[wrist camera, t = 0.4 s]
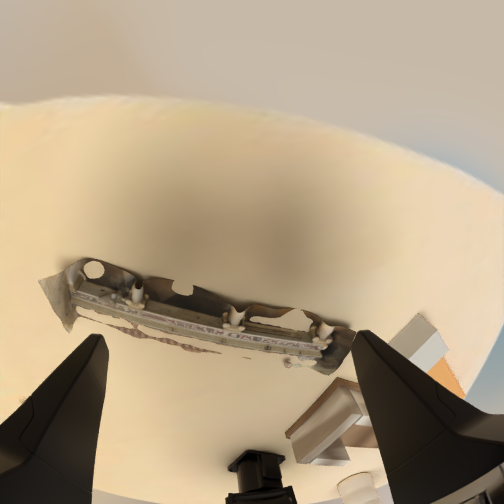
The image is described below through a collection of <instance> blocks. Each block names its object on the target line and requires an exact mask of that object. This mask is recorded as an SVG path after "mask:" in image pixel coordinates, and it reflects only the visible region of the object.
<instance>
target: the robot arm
mask: <svg viewBox="0 0 504 504" xmlns="http://www.w3.org/2000/svg"><path fill="white" fill-rule="evenodd" d="M351 353H352V357H353V361H354V366H355V370H356V374H357V379H358V383H359V387H360V390H361V393H362V396H363V399H364V402H365V405H366V408H367V411H368V414H369V418H370V421H371V424H372V427H373V430H374V434H375V437H376V440H377V443H378V447H379V450H380V454H381V457H382V461H383V464H384V468H385V471H386V474H387V479H388V483H389V486H390V490H391V494H392V498H393V501H394V504H504V414H499V415H498V414H497V415H496V414H495V415H494V414H487V413H485V412H482V411H480V410H479V409H477V408H475V407H474V406H473V405H471V404H469V403H468V402H466V401H464V400H463V399H461V398H460V397H458V396H457V395H455V394H454V393H452V392H451V391H449V390H448V389H447V388H445V387H444V386H443V385H441V384H440V383H439V382H437V381H435V379H433V378H432V377H431V376H429V375H428V374H427V373H425V372H424V371H423V370H421V369H420V368H419V367H418V366H416V365H415V364H414V363H412V362H411V361H410V360H408V359H407V358H406V357H404V356H403V355H402V354H400V353H399V352H398V351H396V350H395V349H394V348H392V347H391V346H390V345H389V344H387V343H386V342H385V341H383V340H382V339H381V338H379V337H378V336H377V335H375V334H374V333H373V332H371V331H370V330H360V331H358V332H357V334H356V336H355V339H354V341H353V343H352V346H351ZM108 361H109V350H108V347H107V345H106V342H105V339H104V337H103V335H101V334H90V335H89V336H88V337H87V338H86V339H85V340H84V341H83V342H82V343H81V344H80V345H79V346H78V347H77V348H76V349H75V350H74V351H73V352H72V353H71V354H70V355H69V356H68V357H67V358H66V359H65V360H64V361H63V362H62V363H61V364H60V365H59V366H58V367H57V368H56V369H55V370H54V371H53V372H52V373H51V374H50V375H49V376H48V377H47V378H46V379H45V380H44V381H43V383H42V384H41V385H40V386H39V387H38V388H37V389H36V390H35V391H34V392H33V393H32V394H31V396H29V397H28V398H27V399H26V401H25V402H24V403H23V404H22V405H21V406H20V407H19V408H18V409H17V410H16V411H15V412H14V413H13V414H12V415H11V416H9V417H8V418H7V419H6V420H5V421H4V422H3V423H2V424H1V425H0V504H91V503H92V486H93V474H94V464H95V456H96V448H97V440H98V434H99V427H100V421H101V415H102V409H103V404H104V398H105V392H106V381H107V370H108ZM284 460H285V456H280V455H273V454H267V453H261V452H256V451H251V450H248V451H246V452H245V453H244V454H243V455H241V456H240V457H239V458H238V459H237V460H236V461H235V462H234V463H233V464H231V465H230V466H229V467H228V471H230V472H236V473H237V477H238V487H239V493H228V497H227V498H225V500H226V504H297V501H296V498H295V495H294V491H293V488H292V486H288V487H284V488H283V485H282V480H281V478H282V475H281V471H280V466H279V465H280V464H281V463H282V462H283V461H284Z"/></svg>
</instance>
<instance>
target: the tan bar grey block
mask: <svg viewBox="0 0 504 504" xmlns="http://www.w3.org/2000/svg"><path fill="white" fill-rule="evenodd" d="M388 344H389V345H390V346H391V347H392V348H394V349H395V350H396V351H398V352H399V353H400V354H402V355H403V356H404V357H406V358H407V359H408V360H410V361H411V362H412V363H414V364H415V365H416V366H418V367H419V368H420V369H421V370H423V371H424V372H425V373H427V374H428V375H429V376H431V377H432V378H433V379H435V381H437V382H439V383H440V384H441V385H443V386H444V387H445V388H447V389H448V390H449V391H451V392H452V393H454V394H455V395H457V396H458V397H460V398H461V399H463V398H464V397H465V396H466V395H465V394H464V392H463V390H462V388H461V387H460V385H459V383H458V382H457V380H456V378H455V377H454V375H453V373H452V372H451V370H450V368H449V367H448V365H447V364H446V362H445V360H444V359H443V356H444V355H445V354H446V353H447V352H448V351H449V349H448V347H447V345H446V344H445V342H444V340H443V338H442V337H441V335H440V333H439V332H438V330H437V329H436V328H435V327H434V326H432V325H431V324H430V323H429V322H428V321H427V320H426V319H424V318H423V317H422V316H421V315H420V314H419V313H418V314H417V315H416V316H415V317H414V318H413V319H412V320H411V321H410V322H409V323H408V324H407V325H406V326H405V327H404V328H403V329H402V330H401V331H400V332H399V333H398V334H397V335H396V336H395V337H394V338H393V339H392V340H391V341H390V342H389V343H388Z"/></svg>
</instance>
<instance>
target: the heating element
mask: <svg viewBox="0 0 504 504" xmlns="http://www.w3.org/2000/svg"><path fill="white" fill-rule="evenodd" d="M91 261H98V262H100V263H101V264H102V265H103V266H104V269H105V271H104V274H103V276H102V277H100V278H96V279H90V278H88V277H87V276H86V275H85V273H84V271H83V268H84V265H85V264H86V263H88V262H91ZM173 281H174V280H169V279H158V278H154V279H149V280H144V281H143V283H142V284H143V285H142V287H141V289H136V288H135V283H136V277H134V276H133V275H131V274H130V273H128V272H126V271H124V270H122V269H120V268H117V267H115V266H113V265H111V264H108V263H106V262H103V261H100V260H97V259H83V260H80V261H78V262H76V263H74V264H73V265H72V266H70V267H69V268H67V269H66V270H65V271H63V272H61V273H59V274H56V275H54V276H50V277H47V278H44V279H41V280H38V282H39V284H40V286H41V288H42V289H43V291H44V293H45V295H46V296H47V298H48V300H49V302H50V304H51V306H52V308H53V310H54V312H55V313H56V315H57V316H58V317H59V318H60V319H61V321H62V324H63V326H64V328H65V329H66V331H67V332H68V333H70V332H71V330H72V327H73V324H74V322H75V320H76V319H77V317H84V316H82V315H80V314H78V313H77V312H76V309H75V308H76V306H77V305H78V306H80V307H83V308H85V309H92V310H94V311H95V312H97V313H98V314H104V315H110V316H112V317H113V318H123V319H125V320H127V321H128V322H131V324H132V325H133V327H134V328H136V329H128V328H125V327H117V326H114V325H110V324H106V325H109V326H111V327H114V328H116V329H118V330H120V331H122V332H124V333H127V334H129V335H131V336H133V337H136V338H151V339H155V340H158V341H160V342H163V343H167V344H171V345H177V346H181V347H182V348H183V349H184V350H186V351H190V352H197V353H200V352H212V353H218V354H222V353H219V352H215V351H210V350H205V349H199V348H196V347H193V346H191V345H188V344H181V343H178V342H176V341H174V340H171V339H168V338H156V337H151V336H148V335H146V334H144V333H143V332H141V331H140V330H138V329H137V326H138V324H141V325H144V326H145V327H149V328H153V329H157V330H159V331H161V332H164V333H167V334H175V335H180V336H185V337H190V338H197V339H199V340H204V341H210V342H213V343H216V344H219V345H225V346H232V347H239V348H246V349H253V350H259V351H263V352H267V353H279V354H289V355H296V356H298V358H299V360H301V361H304V360H315V361H317V363H316V365H314V366H307V367H309V368H312V369H314V370H316V371H318V372H320V373H322V374H325V375H330V374H331V373H333V372H335V371H336V370H337V369H338V368H339V366H340V365H341V364H342V362H343V360H344V358H345V357H346V356H347V355H348V353H349V352H350V351H351V346H352V343H353V339H354V337H355V335H356V332H355V331H353V330H350V329H348V328H345V327H342V326H333V327H331V326H328V325H326V324H325V323H324V322H323V320H322V319H321V318H319V317H318V316H316V315H314V314H312V313H310V312H307V311H304V310H302V311H303V312H304V314H305V315H306V317H307V318H310V319H312V320H313V323H312V324H311V326H310V330H311V331H310V332H305V331H295V330H292V329H286V328H281V327H279V326H272V325H266V324H261V323H259V322H251V321H250V320H249V319H250V318H251V317H253V316H260V317H267V318H277V317H281V316H283V315H284V314H286V313H287V312H289V311H291V310H293V309H296V308H285V309H272V308H268V307H265V306H261V305H251V306H249V307H248V308H247V309H246V310H245V311H244V312H242V313H238V312H237V311H236V310H235V308H234V307H233V306H232V305H230V304H228V303H225V302H223V301H221V300H220V299H219V298H217V297H216V296H214V295H213V294H211V293H209V292H208V291H206V290H204V289H201V288H199V287H197V286H194V285H193V287H194V289H193V294H192V295H189V296H184V295H180V294H178V293H176V292H174V291H173V290H172V289H171V287H172V283H173ZM84 318H87V317H84ZM87 319H90V318H87ZM90 320H93V319H90ZM93 321H96V320H93ZM97 322H99V321H97ZM100 323H102V322H100ZM327 345H328V347H327V348H326V349H325V350H321V349H322V348H323V347H324V346H327ZM242 358H246V357H242ZM247 359H250V358H247ZM284 366H285V367H286V368H290V367H291V366H293V367H305V366H302V365H301V364H291V362H286V363H285V364H284Z"/></svg>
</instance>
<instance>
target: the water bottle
mask: <svg viewBox="0 0 504 504" xmlns="http://www.w3.org/2000/svg"><path fill="white" fill-rule="evenodd" d="M338 491H339V493H340V496H341V498H342V499H343V504H383V503H382V502H381V500H380V496H379V493H378V491H377V489H376V488H375V486H374V482H373V480H372V477H371V475H370V474H368V473H359V474H356V475H353V476H350V477H348V478H346V479H345V480H343V481H342V482H341V483H340V484H339V485H338Z"/></svg>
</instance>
